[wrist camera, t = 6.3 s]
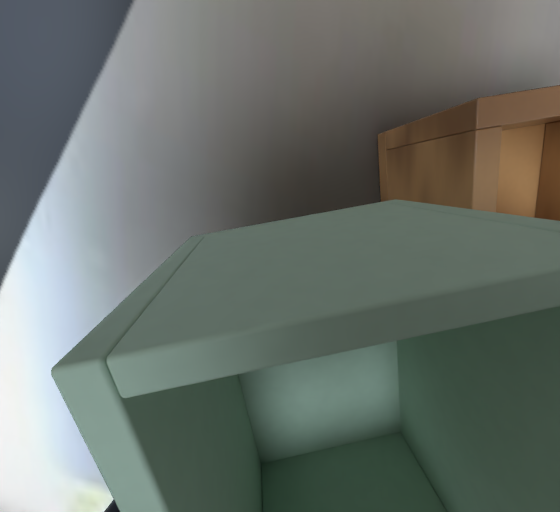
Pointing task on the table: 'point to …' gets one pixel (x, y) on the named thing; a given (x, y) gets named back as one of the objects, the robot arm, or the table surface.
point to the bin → (333, 368)
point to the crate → (480, 156)
